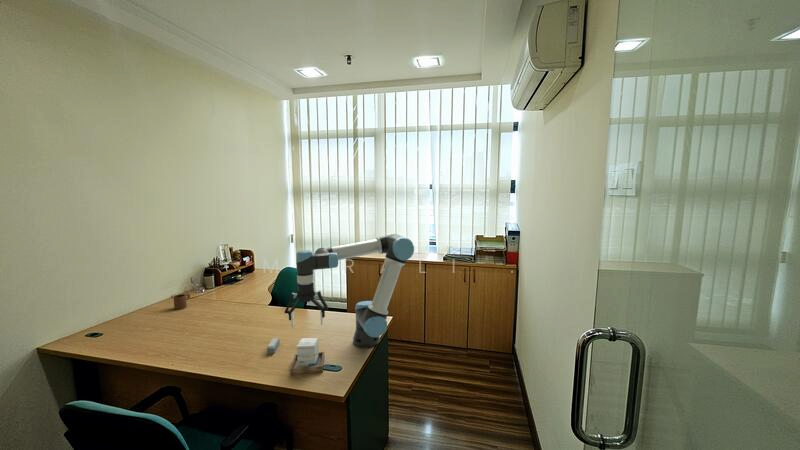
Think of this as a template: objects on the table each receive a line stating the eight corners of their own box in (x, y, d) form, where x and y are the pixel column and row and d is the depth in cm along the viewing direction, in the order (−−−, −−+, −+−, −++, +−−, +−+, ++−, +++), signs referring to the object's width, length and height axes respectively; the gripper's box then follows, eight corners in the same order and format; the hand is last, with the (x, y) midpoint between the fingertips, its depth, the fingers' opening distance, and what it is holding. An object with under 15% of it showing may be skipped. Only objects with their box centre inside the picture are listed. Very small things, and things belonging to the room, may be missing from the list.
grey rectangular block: (273, 345, 175) (272, 337, 175) (279, 344, 176) (279, 337, 175) (267, 354, 166) (267, 346, 165) (274, 354, 166) (274, 346, 165)
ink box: (319, 359, 159) (318, 337, 157) (315, 368, 150) (314, 345, 149) (301, 359, 158) (301, 337, 157) (297, 369, 150) (296, 346, 148)
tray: (324, 357, 162) (324, 351, 162) (322, 371, 149) (322, 365, 148) (295, 359, 160) (294, 354, 159) (290, 375, 146) (290, 369, 146)
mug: (186, 303, 241) (185, 291, 240) (194, 304, 239) (193, 292, 238) (171, 309, 229) (170, 297, 228) (180, 310, 227) (179, 297, 226)
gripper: (332, 278, 156) (333, 319, 158) (279, 282, 151) (281, 324, 154) (331, 283, 148) (333, 326, 151) (276, 286, 144) (278, 330, 146)
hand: (307, 325), depth 152 cm, fingers open, 13 cm apart
